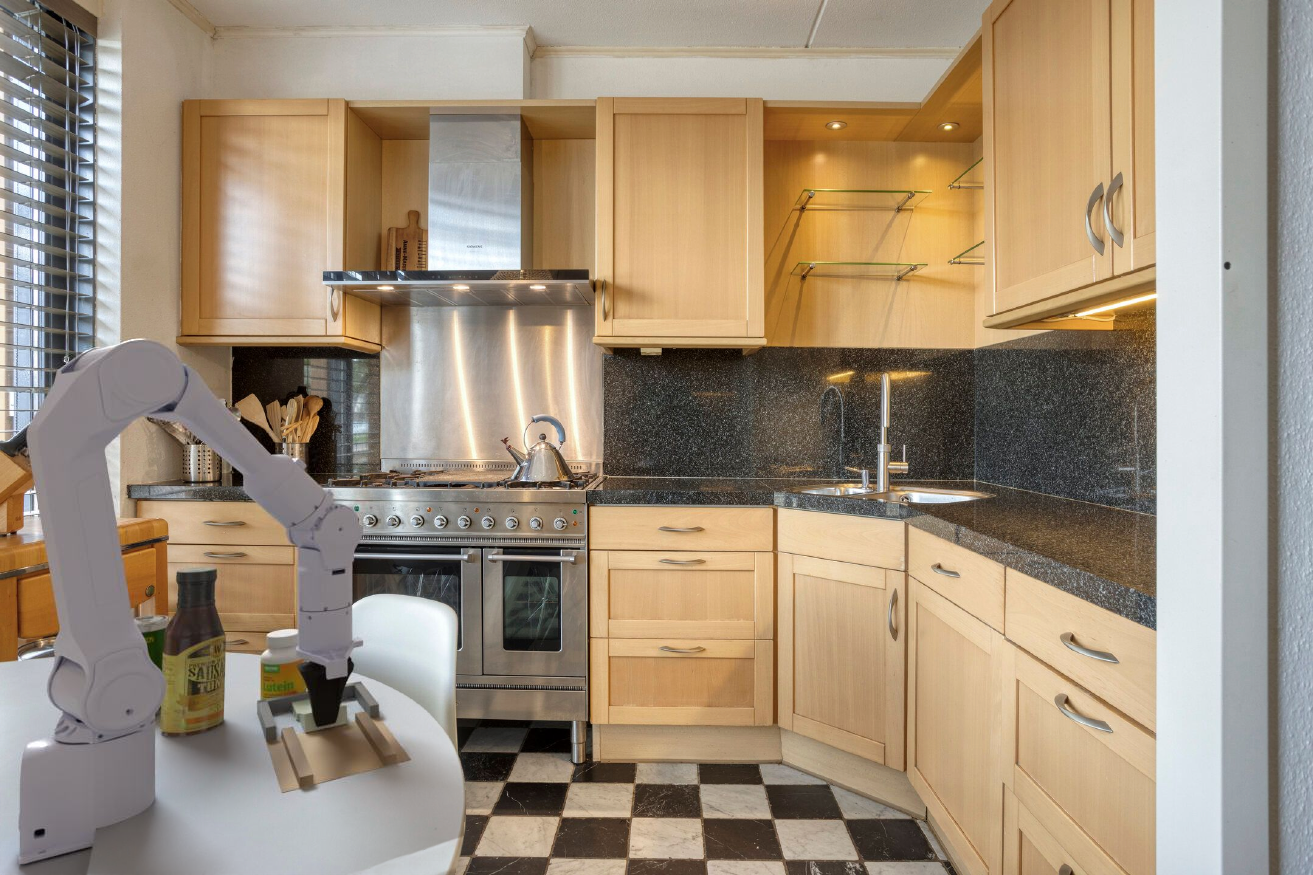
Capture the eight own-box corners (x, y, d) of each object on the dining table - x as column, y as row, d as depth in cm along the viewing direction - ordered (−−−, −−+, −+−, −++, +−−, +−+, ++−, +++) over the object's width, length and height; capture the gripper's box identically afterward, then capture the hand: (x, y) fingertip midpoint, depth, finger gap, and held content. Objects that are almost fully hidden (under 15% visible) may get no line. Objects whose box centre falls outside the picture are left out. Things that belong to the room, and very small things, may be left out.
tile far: (296, 730, 84) (296, 713, 84) (291, 718, 87) (291, 702, 87) (337, 721, 86) (337, 705, 86) (330, 710, 90) (330, 694, 90)
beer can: (172, 713, 90) (172, 620, 90) (119, 724, 86) (120, 627, 86) (168, 701, 94) (168, 612, 94) (118, 711, 90) (118, 619, 91)
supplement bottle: (255, 716, 89) (255, 639, 89) (266, 701, 94) (266, 629, 94) (301, 711, 90) (301, 636, 90) (310, 697, 95) (310, 626, 95)
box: (266, 754, 78) (266, 727, 78) (257, 724, 86) (257, 700, 86) (378, 728, 85) (378, 704, 85) (360, 703, 93) (360, 681, 93)
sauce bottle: (192, 752, 78) (192, 575, 79) (146, 747, 80) (146, 573, 80) (238, 728, 85) (238, 565, 85) (195, 725, 86) (195, 564, 86)
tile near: (305, 732, 80) (304, 714, 80) (299, 730, 83) (299, 713, 84) (347, 723, 82) (346, 705, 83) (340, 721, 86) (339, 704, 86)
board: (282, 808, 66) (282, 781, 66) (266, 754, 78) (265, 732, 78) (411, 773, 73) (411, 749, 73) (378, 728, 85) (378, 708, 85)
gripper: (376, 613, 77) (376, 736, 77) (349, 591, 89) (349, 697, 89) (305, 623, 73) (306, 753, 73) (287, 598, 85) (287, 710, 85)
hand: (325, 723), depth 81 cm, fingers closed
